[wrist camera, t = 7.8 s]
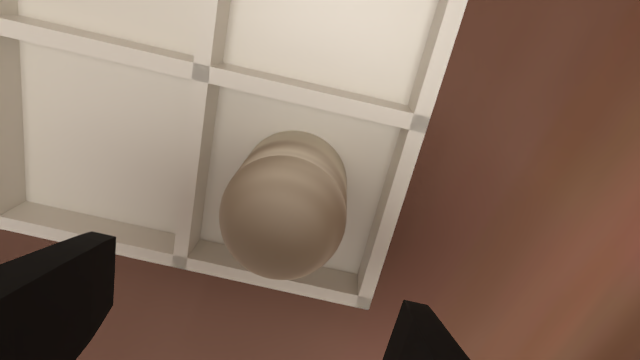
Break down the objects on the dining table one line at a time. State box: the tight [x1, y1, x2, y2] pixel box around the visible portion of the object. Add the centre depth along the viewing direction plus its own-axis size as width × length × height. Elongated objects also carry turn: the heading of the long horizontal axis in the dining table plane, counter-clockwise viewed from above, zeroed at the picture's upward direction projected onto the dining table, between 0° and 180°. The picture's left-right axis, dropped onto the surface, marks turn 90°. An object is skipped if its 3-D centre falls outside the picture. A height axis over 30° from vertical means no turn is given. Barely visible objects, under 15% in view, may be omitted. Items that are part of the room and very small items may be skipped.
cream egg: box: [219, 131, 347, 280], centre depth 15 cm, size 4×4×6 cm
